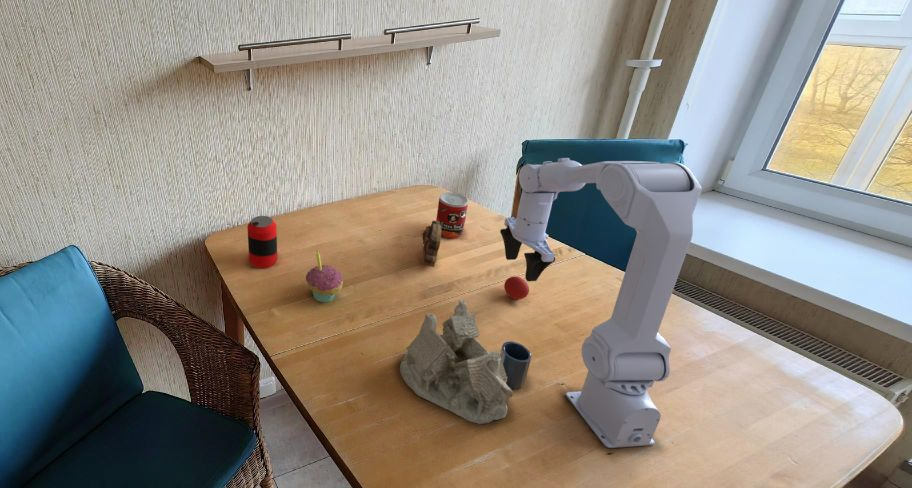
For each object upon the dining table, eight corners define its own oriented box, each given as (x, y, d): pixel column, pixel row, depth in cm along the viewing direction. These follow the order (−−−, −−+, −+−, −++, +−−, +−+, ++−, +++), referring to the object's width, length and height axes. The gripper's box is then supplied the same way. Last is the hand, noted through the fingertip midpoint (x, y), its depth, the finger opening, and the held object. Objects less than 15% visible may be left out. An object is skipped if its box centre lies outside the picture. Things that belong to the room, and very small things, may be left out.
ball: (531, 303, 97) (536, 285, 95) (510, 304, 97) (514, 286, 95) (518, 288, 101) (522, 271, 100) (498, 289, 101) (501, 272, 99)
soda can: (243, 258, 115) (241, 220, 111) (266, 248, 119) (264, 211, 115) (260, 272, 109) (258, 232, 105) (282, 261, 114) (282, 222, 109)
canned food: (435, 237, 122) (440, 203, 118) (434, 223, 130) (438, 190, 126) (464, 241, 120) (470, 206, 116) (461, 226, 127) (466, 193, 123)
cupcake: (300, 300, 99) (300, 257, 95) (314, 279, 106) (315, 238, 102) (335, 312, 95) (337, 268, 91) (347, 289, 102) (349, 247, 98)
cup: (529, 388, 77) (537, 361, 74) (505, 389, 77) (511, 362, 74) (514, 366, 81) (521, 340, 79) (491, 368, 81) (497, 342, 79)
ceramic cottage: (391, 353, 84) (403, 295, 78) (470, 347, 86) (487, 291, 80) (424, 433, 70) (441, 371, 64) (517, 425, 72) (543, 364, 66)
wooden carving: (417, 240, 121) (421, 209, 118) (434, 242, 120) (438, 211, 117) (421, 276, 106) (425, 242, 103) (440, 278, 105) (445, 244, 102)
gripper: (574, 234, 85) (559, 289, 90) (529, 199, 98) (518, 249, 103) (540, 236, 84) (527, 291, 89) (499, 201, 98) (490, 250, 103)
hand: (520, 269), depth 96 cm, fingers open, 7 cm apart
